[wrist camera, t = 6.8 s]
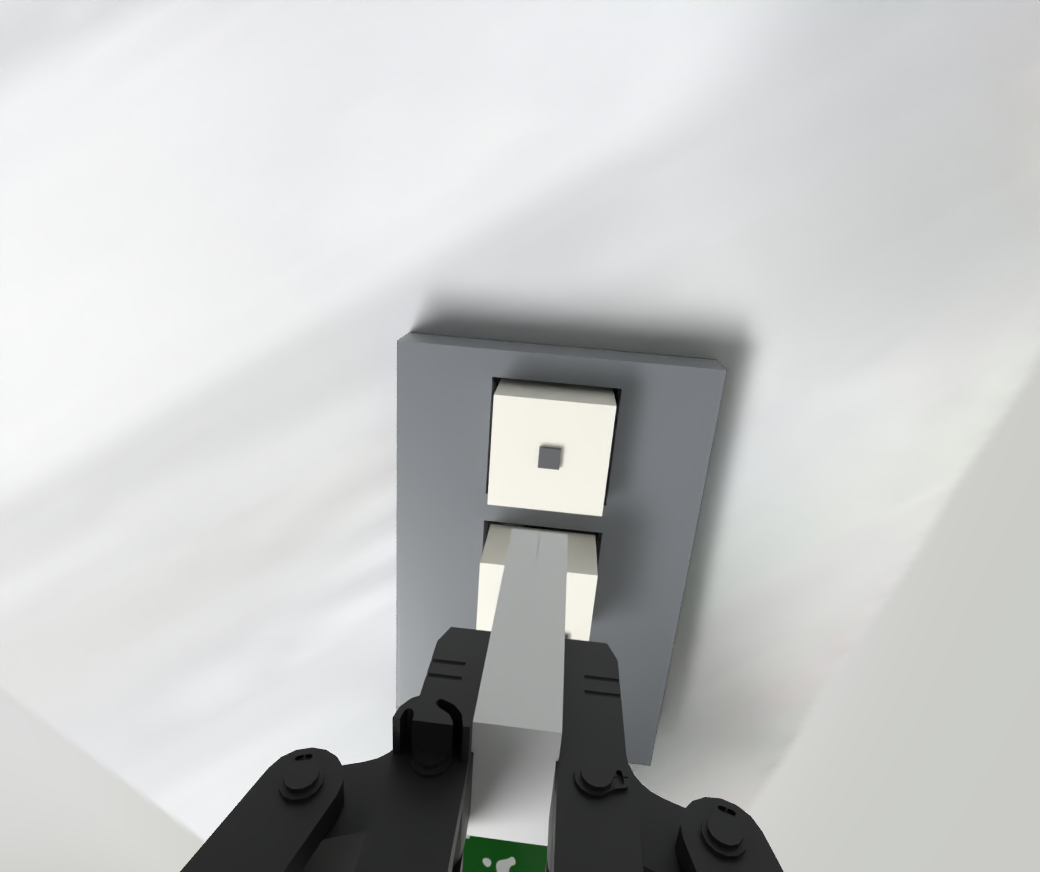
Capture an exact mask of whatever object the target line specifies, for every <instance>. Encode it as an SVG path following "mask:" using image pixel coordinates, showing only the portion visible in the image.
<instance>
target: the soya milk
mask: <svg viewBox="0 0 1040 872" xmlns="http://www.w3.org/2000/svg"><path fill="white" fill-rule="evenodd" d="M546 862H547V846H543V845H536V844H528V843H521V842H514V841H506V840H499V839H491V838H484V837H477V836H469V835H467V833H466V838H465V844H464V853H463V869H462V872H545V869H546Z"/></svg>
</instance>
